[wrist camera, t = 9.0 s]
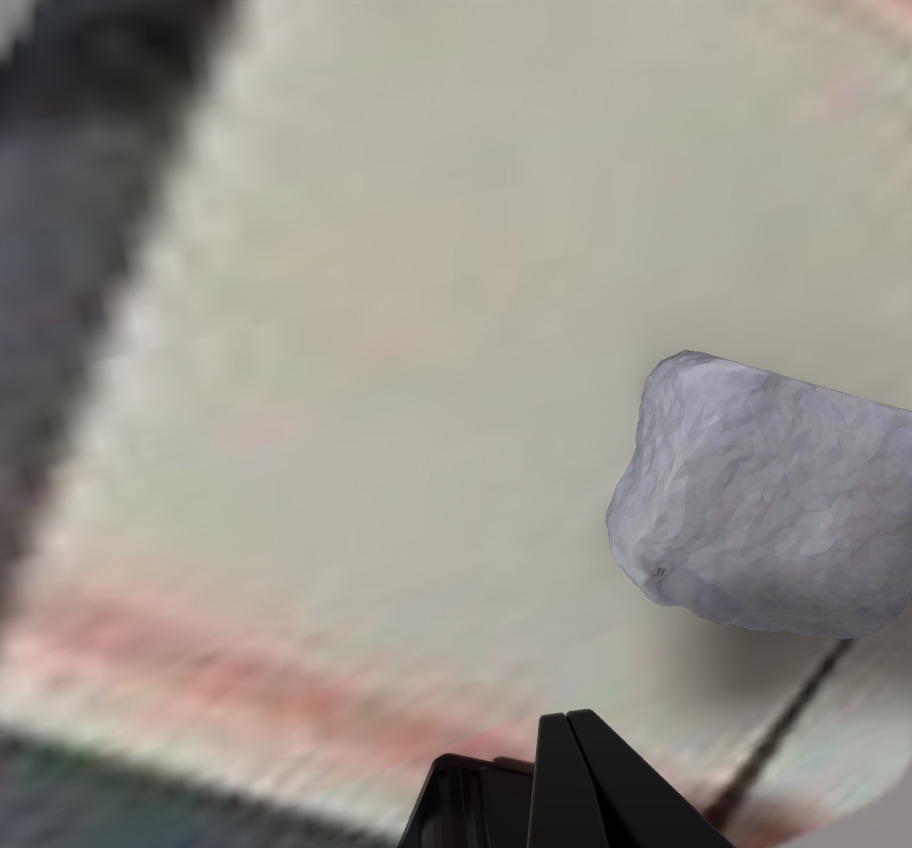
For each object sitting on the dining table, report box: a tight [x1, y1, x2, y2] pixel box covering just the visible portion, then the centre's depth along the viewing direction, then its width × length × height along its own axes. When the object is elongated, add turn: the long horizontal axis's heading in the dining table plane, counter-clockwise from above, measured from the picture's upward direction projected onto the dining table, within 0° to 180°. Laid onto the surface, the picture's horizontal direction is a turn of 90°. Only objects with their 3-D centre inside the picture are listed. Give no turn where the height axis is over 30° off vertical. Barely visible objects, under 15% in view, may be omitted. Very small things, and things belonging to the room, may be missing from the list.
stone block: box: [606, 350, 912, 639], centre depth 20 cm, size 12×5×10 cm
